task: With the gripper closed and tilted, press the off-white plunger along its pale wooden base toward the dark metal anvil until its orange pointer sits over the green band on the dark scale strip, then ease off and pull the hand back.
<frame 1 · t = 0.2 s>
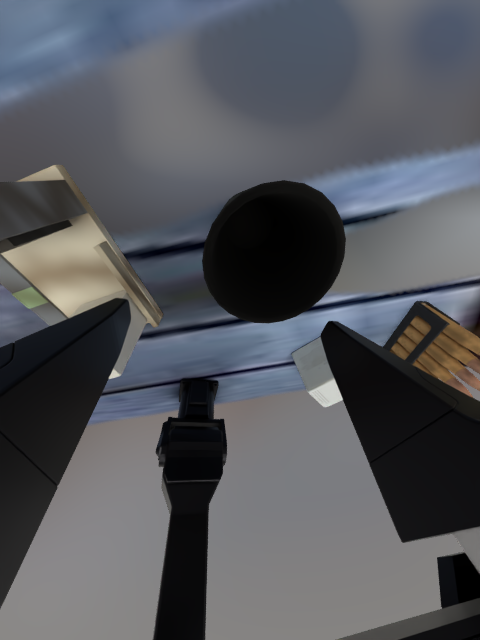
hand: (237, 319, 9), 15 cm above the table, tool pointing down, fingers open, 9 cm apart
skincare box: (314, 352, 33), on the table
ammunition clip: (399, 329, 32), on the table
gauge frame: (83, 271, 22), on the table
cup: (247, 222, 20), on the table
gauge slider: (79, 341, 20), point 6 cm above the table, slide at 0.0 cm
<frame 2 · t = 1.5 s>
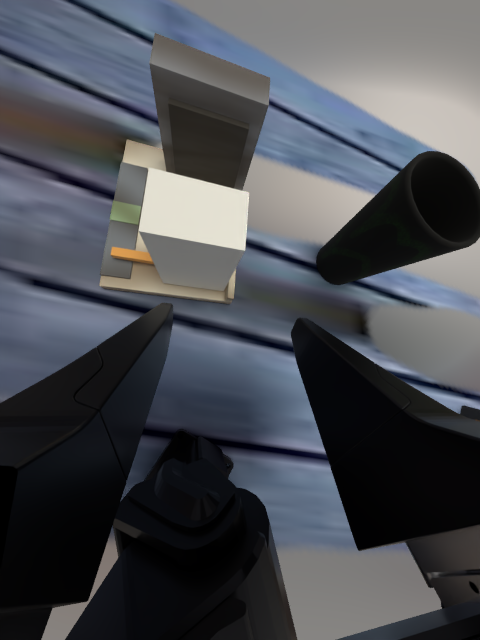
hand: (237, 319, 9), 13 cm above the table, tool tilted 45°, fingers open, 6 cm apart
ammunition clip: (457, 445, 27), on the table
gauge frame: (191, 229, 22), on the table
cup: (334, 265, 26), on the table
gauge slider: (168, 242, 16), point 6 cm above the table, slide at 0.0 cm
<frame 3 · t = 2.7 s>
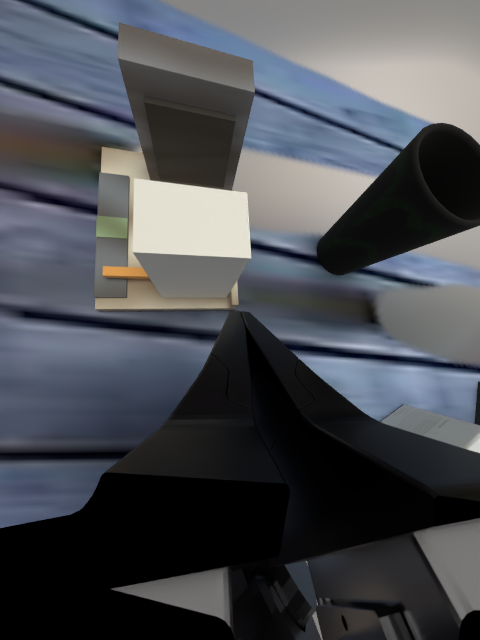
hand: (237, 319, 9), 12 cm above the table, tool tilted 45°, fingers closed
skincare box: (395, 438, 23), on the table
ammunition clip: (477, 422, 27), on the table
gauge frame: (184, 235, 21), on the table
cup: (335, 254, 25), on the table
gauge slider: (163, 255, 14), point 6 cm above the table, slide at 0.0 cm
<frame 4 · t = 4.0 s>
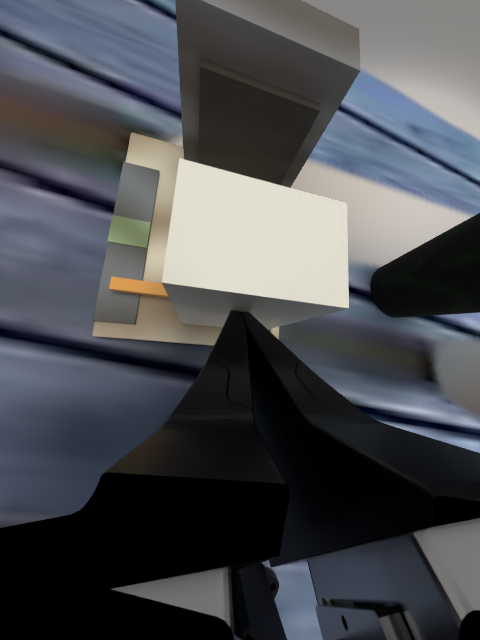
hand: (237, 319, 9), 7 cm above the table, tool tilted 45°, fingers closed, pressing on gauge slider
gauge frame: (216, 250, 17), on the table
cup: (390, 291, 21), on the table
gauge slider: (195, 275, 10), point 6 cm above the table, slide at 0.4 cm, touching gripper
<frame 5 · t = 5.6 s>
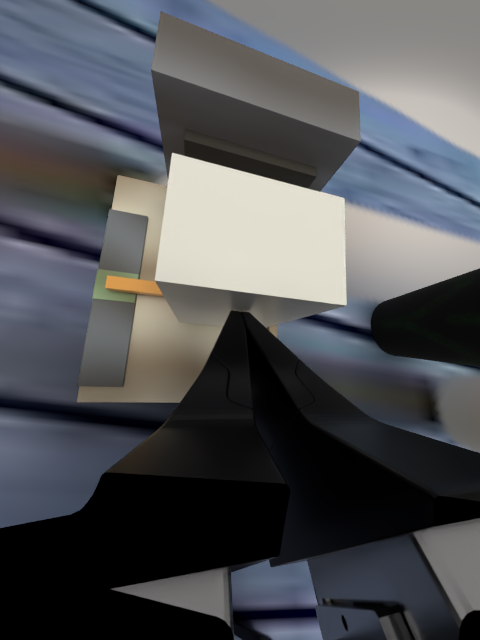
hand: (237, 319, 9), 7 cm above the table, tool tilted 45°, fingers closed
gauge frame: (209, 295, 16), on the table
cup: (392, 327, 20), on the table
gauge slider: (192, 274, 10), point 6 cm above the table, slide at 4.5 cm
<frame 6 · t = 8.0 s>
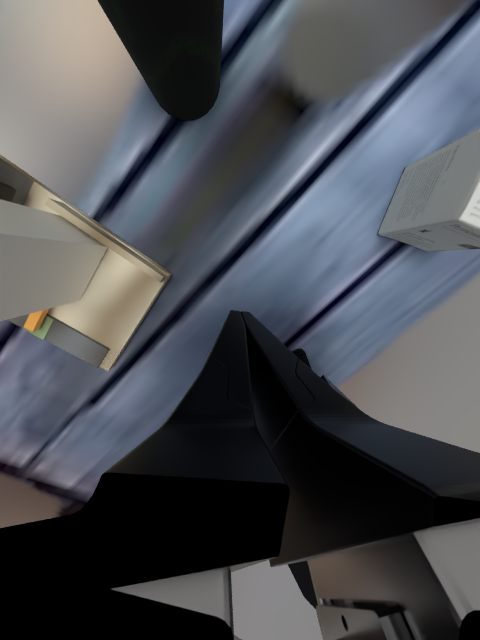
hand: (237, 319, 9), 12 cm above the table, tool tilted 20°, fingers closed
skincare box: (414, 212, 19), on the table
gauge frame: (71, 266, 19), on the table
cup: (184, 78, 16), on the table
gauge slider: (8, 287, 14), point 6 cm above the table, slide at 4.5 cm
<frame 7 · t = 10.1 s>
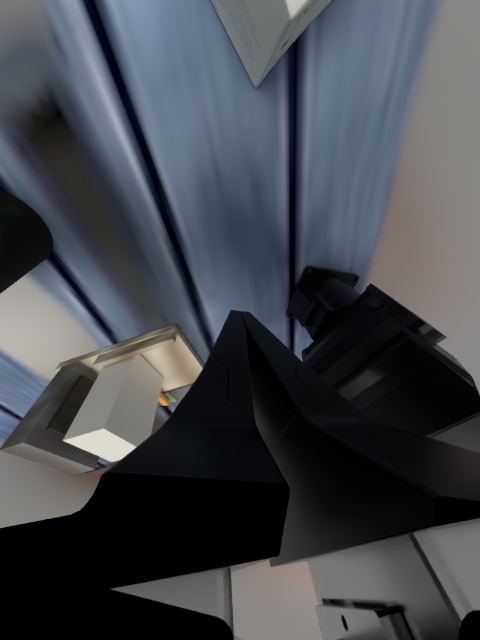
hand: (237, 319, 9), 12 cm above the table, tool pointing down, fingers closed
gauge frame: (140, 368, 27), on the table
cup: (13, 228, 16), on the table
gauge slider: (137, 411, 23), point 6 cm above the table, slide at 4.5 cm
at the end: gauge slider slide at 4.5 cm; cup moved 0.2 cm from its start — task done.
